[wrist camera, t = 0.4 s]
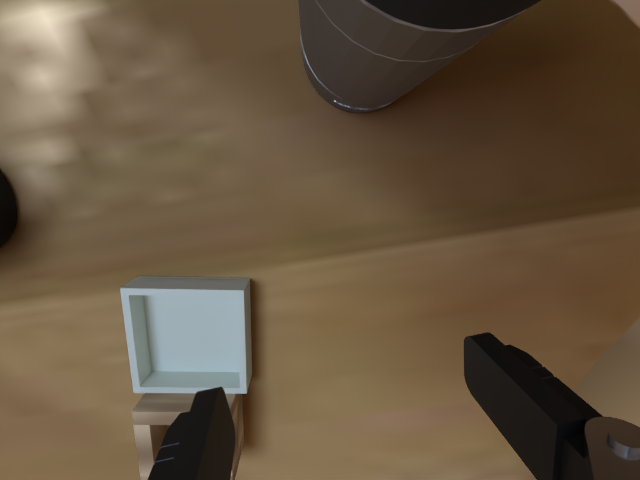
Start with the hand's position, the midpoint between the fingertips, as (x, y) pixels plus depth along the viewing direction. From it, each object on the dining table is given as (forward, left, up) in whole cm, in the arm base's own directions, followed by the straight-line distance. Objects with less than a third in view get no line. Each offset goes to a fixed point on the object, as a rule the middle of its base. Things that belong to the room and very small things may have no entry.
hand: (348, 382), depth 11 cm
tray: (+9, -12, -19) cm, 24 cm away
